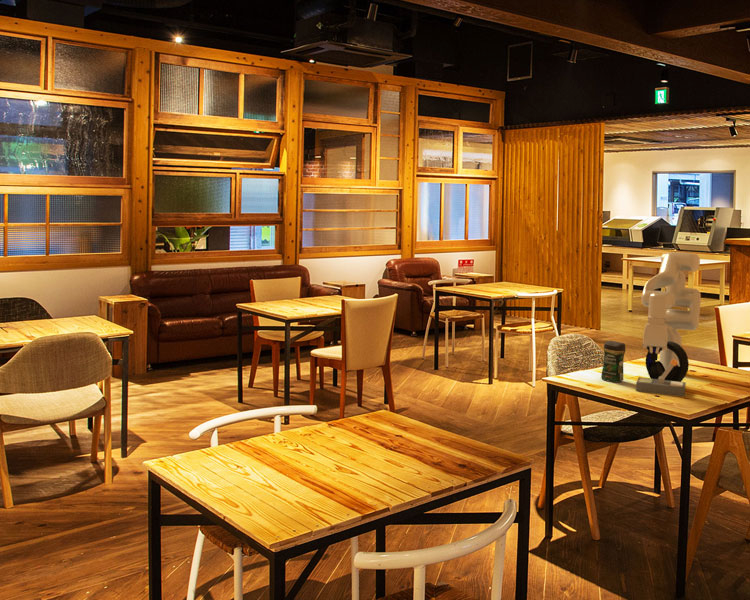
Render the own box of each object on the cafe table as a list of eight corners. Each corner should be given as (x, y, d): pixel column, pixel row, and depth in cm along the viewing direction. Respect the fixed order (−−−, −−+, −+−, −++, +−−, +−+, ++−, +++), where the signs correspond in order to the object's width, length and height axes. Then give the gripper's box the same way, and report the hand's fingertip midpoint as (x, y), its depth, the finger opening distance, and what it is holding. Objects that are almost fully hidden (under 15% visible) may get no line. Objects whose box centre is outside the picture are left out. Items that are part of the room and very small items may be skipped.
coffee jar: (598, 379, 363) (601, 340, 361) (607, 377, 369) (610, 339, 366) (616, 383, 356) (619, 344, 354) (625, 381, 362) (628, 342, 359)
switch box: (638, 385, 354) (639, 372, 353) (685, 391, 346) (686, 377, 345) (635, 390, 344) (636, 377, 343) (684, 396, 336) (685, 382, 335)
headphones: (687, 388, 352) (691, 345, 349) (679, 390, 348) (683, 346, 345) (651, 380, 366) (654, 338, 363) (643, 381, 362) (646, 339, 359)
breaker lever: (657, 378, 346) (673, 358, 342) (662, 382, 345) (678, 361, 342) (657, 380, 343) (672, 359, 340) (662, 383, 343) (677, 362, 339)
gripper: (675, 321, 343) (671, 362, 345) (639, 318, 349) (636, 358, 351) (674, 323, 336) (670, 365, 338) (638, 320, 342) (635, 361, 344)
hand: (653, 361), depth 345 cm, fingers closed
